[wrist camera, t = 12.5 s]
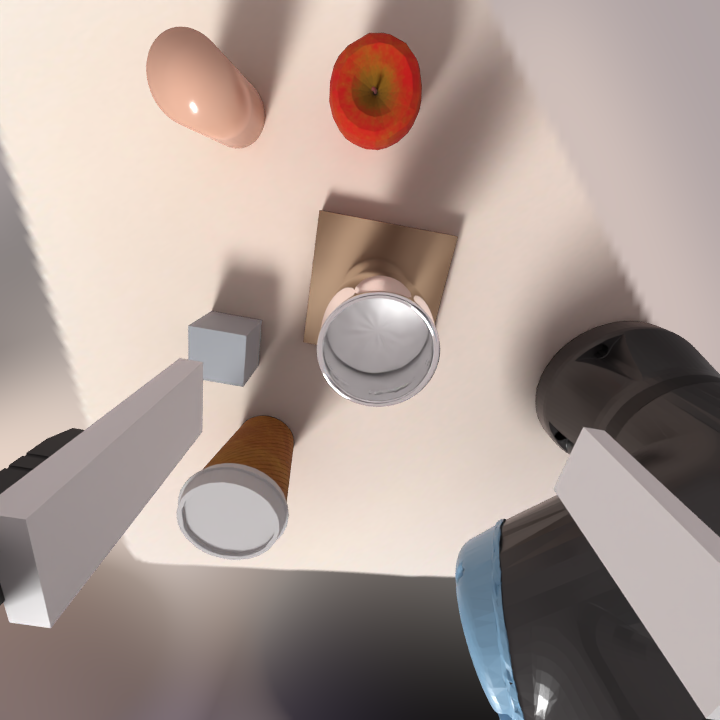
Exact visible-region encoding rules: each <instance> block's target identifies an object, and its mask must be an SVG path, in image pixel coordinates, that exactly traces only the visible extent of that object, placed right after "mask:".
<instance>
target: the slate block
mask: <svg viewBox="0 0 720 720" xmlns="http://www.w3.org/2000/svg"><path fill="white" fill-rule="evenodd" d="M261 328H262V320H259V319H253V318H247V317H242V316H236V315H231V314H225V313H220V312H214V311H211V312H209V313H208V314H206V315H205V316H203V317H201V318H200V319H198V320H197V321H195V322H193V323H192V324H190V325H189V326H188V340H189V360H194V361H200V362H203V380H207V381H213V382H218V383H224V384H230V385H236V386H242V387H243V386H244V385H245V384H246V382H247V381H248V379H249V378H250V377H251V375H252V374H253V373H254V371H255V370H256V368H257V367H258V366H259V353H260V341H261Z"/></svg>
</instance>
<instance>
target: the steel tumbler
mask: <svg viewBox="0 0 720 720" xmlns="http://www.w3.org/2000/svg"><path fill="white" fill-rule="evenodd" d="M439 356H440V341H439V336H438V332H437V330H436V327H435V324H434V320H433V317H432V314H431V311H430V309H429V307H428V304H427V302H426V301H425V299H424V297H423V296H422V295H421V293H420V292H419V291H418V289H417V288H416V287H415V286H414V285H413V284H412V283H411V282H409V281H408V280H407V279H406V276H405V275H404V273H403V272H402V270H401V269H400V268H399V267H398V266H397V265H395V264H394V263H392V262H390V261H388V260H384V259H380V258H372V259H367V260H364V261H361V262H359V263H358V264H356V265H355V266H354V267H352V268H351V270H350V271H349V272H348V273H347V275H346V277H345V279H344V282H343V284H342V285H341V286H340V287H339V288H338V289H337V290H336V291H335V293H334V294H333V296H332V297H331V299H330V301H329V302H328V304H327V306H326V309H325V312H324V315H323V318H322V322H321V327H320V333H319V336H318V340H317V359H318V363H319V367H320V369H321V372H322V374H323V376H324V378H325V379H326V381H327V382H328V383H329V385H330V386H331V387H332V388H333V389H334V390H335V391H336V392H337V393H339V394H340V395H341V396H343V397H345V398H346V399H348V400H350V401H352V402H355V403H358V404H361V405H366V406H373V407H383V406H390V405H395V404H398V403H401V402H404V401H406V400H408V399H410V398H411V397H413V396H415V395H416V394H417V393H419V392H420V391H421V390H422V389H423V388H424V387H425V386H426V385H427V384H428V382H429V381H430V380H431V378H432V376H433V375H434V373H435V370H436V368H437V365H438V362H439Z"/></svg>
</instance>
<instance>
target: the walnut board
mask: <svg viewBox="0 0 720 720" xmlns="http://www.w3.org/2000/svg"><path fill="white" fill-rule="evenodd" d="M457 238H458V237H457V236H453V235H448V234H443V233H437V232H432V231H427V230H422V229H416V228H411V227H406V226H401V225H395V224H390V223H385V222H380V221H374V220H369V219H364V218H359V217H353V216H348V215H343V214H338V213H332V212H327V211H322V210H319V218H318V226H317V235H316V243H315V251H314V259H313V267H312V275H311V283H310V291H309V299H308V307H307V316H306V324H305V332H304V340H303V342H304V343H309V344H315V345H317V340H318V336H319V333H320V327H321V322H322V318H323V315H324V312H325V309H326V306H327V304H328V302H329V301H330V299H331V297H332V296H333V294H334V293H335V291H336V290H337V289H338V288H339V287H340V286H341V285H342V284H343V282H344V279H345V277H346V275H347V273H348V272H349V271H350V270H351V268H352V267H354V266H355V265H356V264H358V263H359V262H361V261H364V260H367V259H372V258H380V259H384V260H388V261H390V262H392V263H394V264H395V265H397V266H398V267H399V268H400V269H401V270H402V272H403V273H404V275H405V276H406V279H407V280H408V281H409V282H411V283H412V284H413V285H414V286H415V287H416V288H417V289H418V291H419V292H420V293H421V295H422V296H423V297H424V299H425V301H426V302H427V304H428V307H429V309H430V311H431V314H432V317H433V320H434V324H435V321H436V317H437V313H438V309H439V306H440V302H441V298H442V294H443V291H444V287H445V283H446V279H447V276H448V272H449V268H450V264H451V261H452V257H453V253H454V249H455V246H456V242H457Z"/></svg>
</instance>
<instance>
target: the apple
mask: <svg viewBox="0 0 720 720" xmlns="http://www.w3.org/2000/svg"><path fill="white" fill-rule="evenodd" d="M421 91H422V85H421V77H420V69H419V65H418V61H417V59H416V57H415V56H414V54H413V53H412V52H411V50H410V49H409V47H408V46H407V44H406V43H405V42H403V41H401V40H399V39H397V38H396V37H394V36H392V35H390V34H386V33H368V34H367V35H365V36H363V37H362V38H360V39H358V40H357V41H355V42H353V43H352V44H350V45H348V46H347V47H346V48H345V50H344V51H343V52H342V53H341V54H340V55H339V57H338V59H337V61H336V63H335V65H334V68H333V72H332V76H331V80H330V98H329V102H330V107H331V111H332V115H333V118H334V120H335V122H336V124H337V126H338V128H339V130H340V132H341V133H342V134H343V135H344V137H345V138H346V139H347V140H349V141H350V142H352V143H353V144H355V145H357V146H360V147H362V148H365V149H373V150H379V149H384V148H387V147H389V146H391V145H393V144H395V143H397V142H398V141H399V140H401V139H402V138H403V137H404V136H405V135H406V134H407V133H408V132H409V130H410V129H411V127H412V126H413V124H414V122H415V119H416V117H417V115H418V112H419V109H420V104H421Z"/></svg>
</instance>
